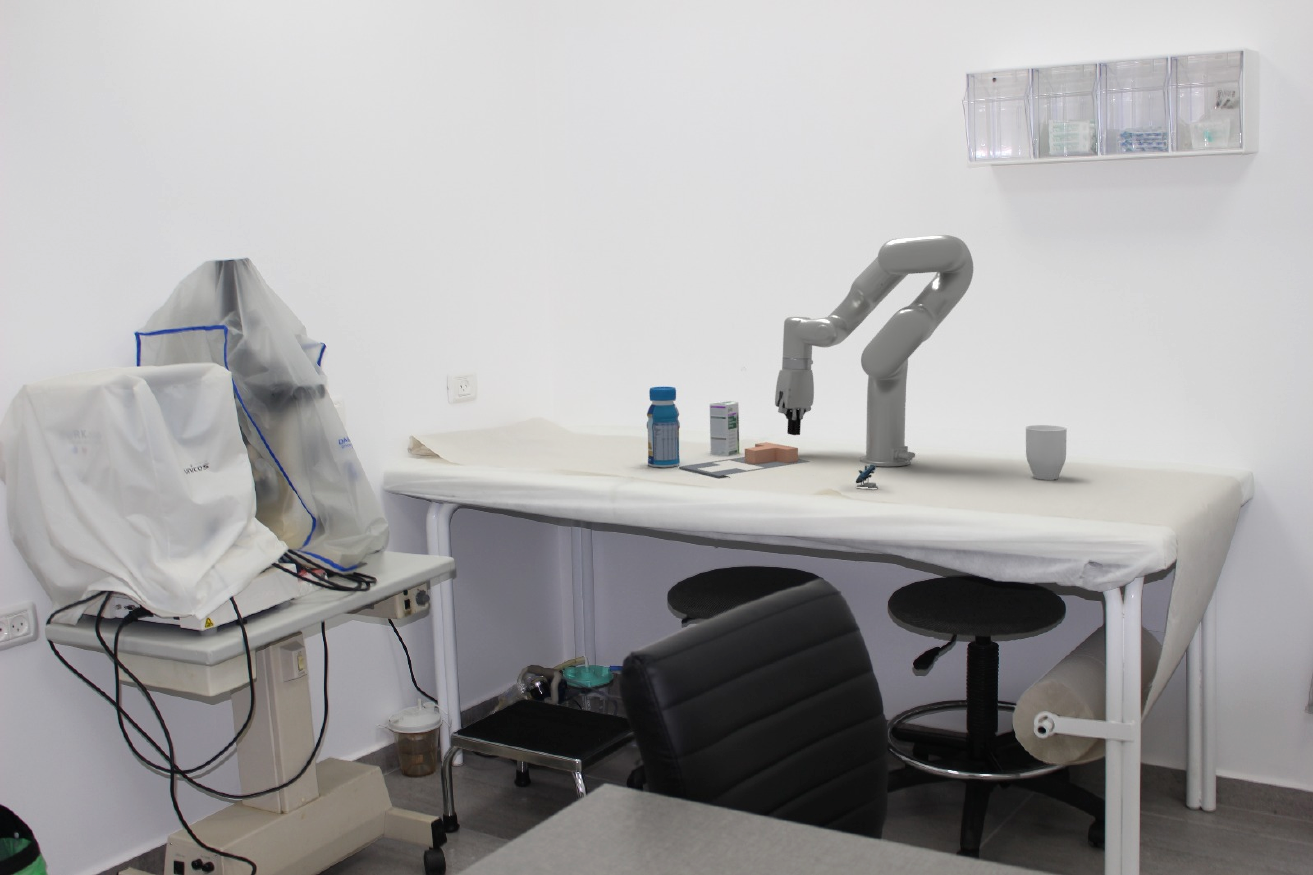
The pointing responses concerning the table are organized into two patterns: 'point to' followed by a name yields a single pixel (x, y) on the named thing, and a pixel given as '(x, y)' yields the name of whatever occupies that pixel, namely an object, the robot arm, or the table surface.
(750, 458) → the tee
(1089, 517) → the table surface
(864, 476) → the sculpture
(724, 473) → the mat
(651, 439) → the beverage bottle
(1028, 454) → the mug
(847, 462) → the table surface
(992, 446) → the table surface
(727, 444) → the syrup box
